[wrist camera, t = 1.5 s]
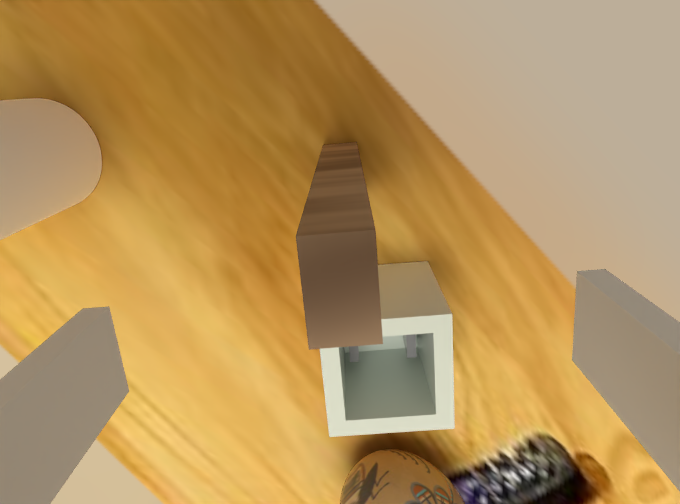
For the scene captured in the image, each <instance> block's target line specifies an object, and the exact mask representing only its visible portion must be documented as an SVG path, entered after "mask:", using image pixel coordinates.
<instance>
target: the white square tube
mask: <svg viewBox="0 0 680 504" xmlns="http://www.w3.org/2000/svg"><path fill="white" fill-rule="evenodd" d="M378 277H379V292H380V307H381V322H382V337H383V344H377V345H363V346H350V347H336V348H323V349H320V355H321V365H322V374H323V383H324V392H325V402H326V411H327V420H328V429H329V437H337V436H352V435H366V434H381V433H396V432H411V431H425V430H440V429H455V423H454V375H453V326H452V312H451V310H450V308H449V306H448V304H447V302H446V299H445V297H444V295H443V293H442V291H441V289H440V286H439V284H438V282H437V280H436V278H435V276H434V273H433V271H432V269H431V267H430V265H429V263H428V261H421V262H408V263H395V264H382V265H378Z"/></svg>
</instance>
